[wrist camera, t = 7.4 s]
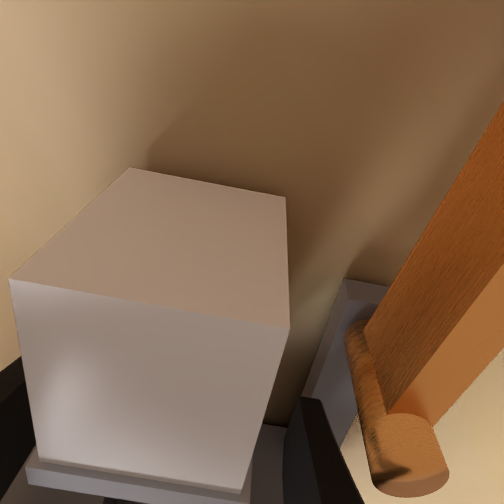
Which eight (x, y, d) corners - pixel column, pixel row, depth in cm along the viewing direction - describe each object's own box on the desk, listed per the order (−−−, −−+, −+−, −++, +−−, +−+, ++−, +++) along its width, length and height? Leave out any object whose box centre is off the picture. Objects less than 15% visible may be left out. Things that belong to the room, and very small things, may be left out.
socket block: (304, 491, 17) (312, 635, 13) (54, 450, 16) (-18, 585, 12) (397, 288, 11) (461, 430, 7) (23, 219, 11) (-124, 329, 7)
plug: (246, 384, 13) (230, 563, 9) (119, 362, 13) (38, 532, 9) (293, 198, 10) (304, 338, 5) (121, 165, 10) (-14, 281, 5)
